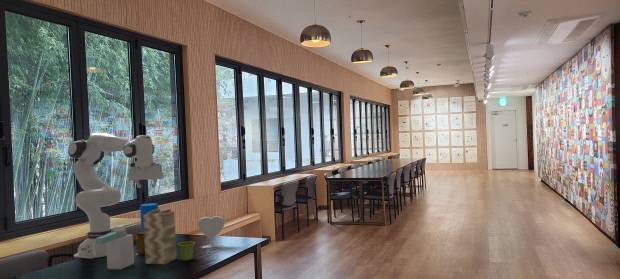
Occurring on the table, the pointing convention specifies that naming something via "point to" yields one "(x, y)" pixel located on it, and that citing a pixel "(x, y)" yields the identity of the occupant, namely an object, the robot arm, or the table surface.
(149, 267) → the table surface
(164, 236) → the zigzag patterned block
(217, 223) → the heart sculpture
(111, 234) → the teal green bar
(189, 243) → the plant pot
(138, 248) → the condiment
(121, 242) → the white rectangular block
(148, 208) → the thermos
